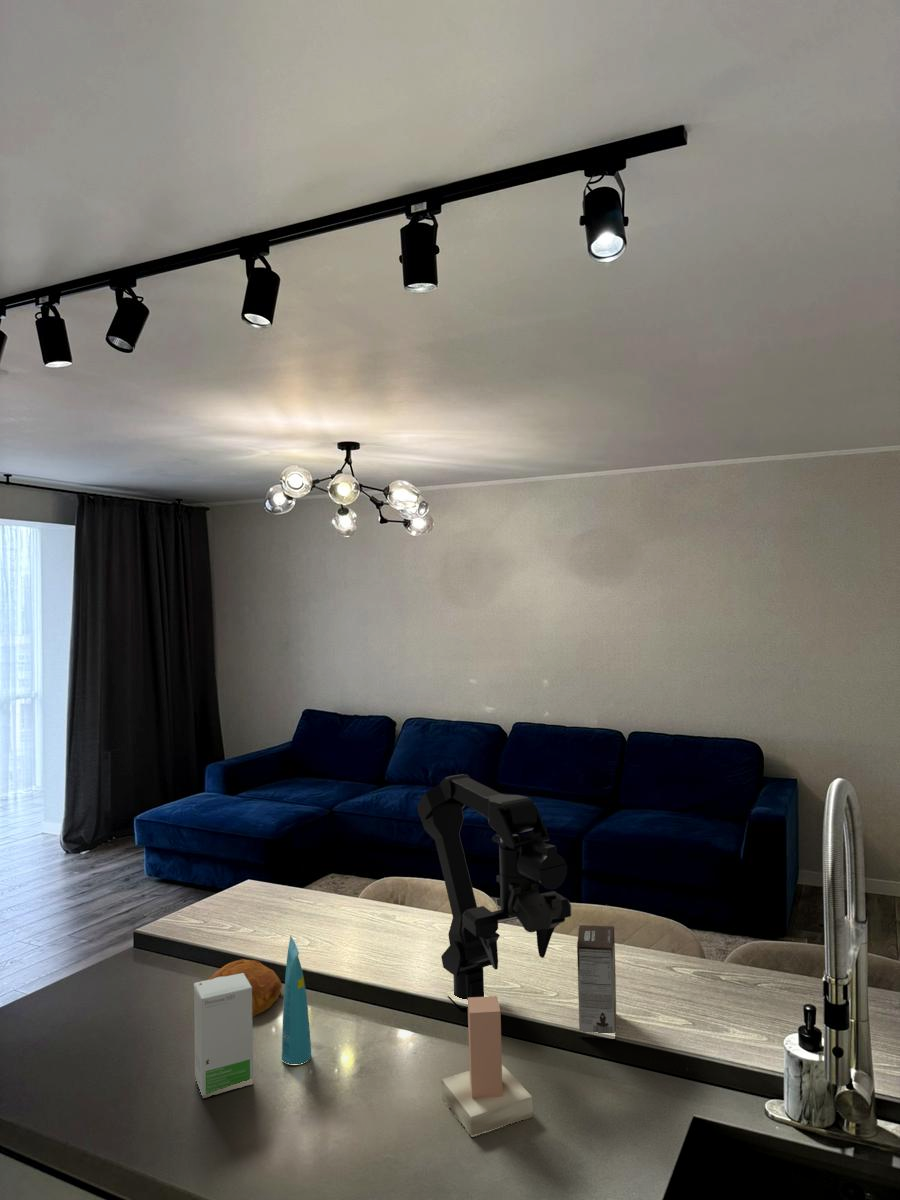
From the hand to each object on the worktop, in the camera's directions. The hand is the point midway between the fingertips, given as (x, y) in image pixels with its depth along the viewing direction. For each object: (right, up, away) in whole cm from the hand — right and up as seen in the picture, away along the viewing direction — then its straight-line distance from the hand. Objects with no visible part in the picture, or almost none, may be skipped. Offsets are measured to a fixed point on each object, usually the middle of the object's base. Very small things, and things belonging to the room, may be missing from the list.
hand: (518, 962), depth 139 cm
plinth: (-6, -13, -19) cm, 24 cm away
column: (-6, -10, -19) cm, 22 cm away
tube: (-37, -14, -4) cm, 40 cm away
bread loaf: (-51, -15, +15) cm, 55 cm away
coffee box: (+14, -13, +3) cm, 19 cm away
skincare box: (-48, -15, -10) cm, 51 cm away
